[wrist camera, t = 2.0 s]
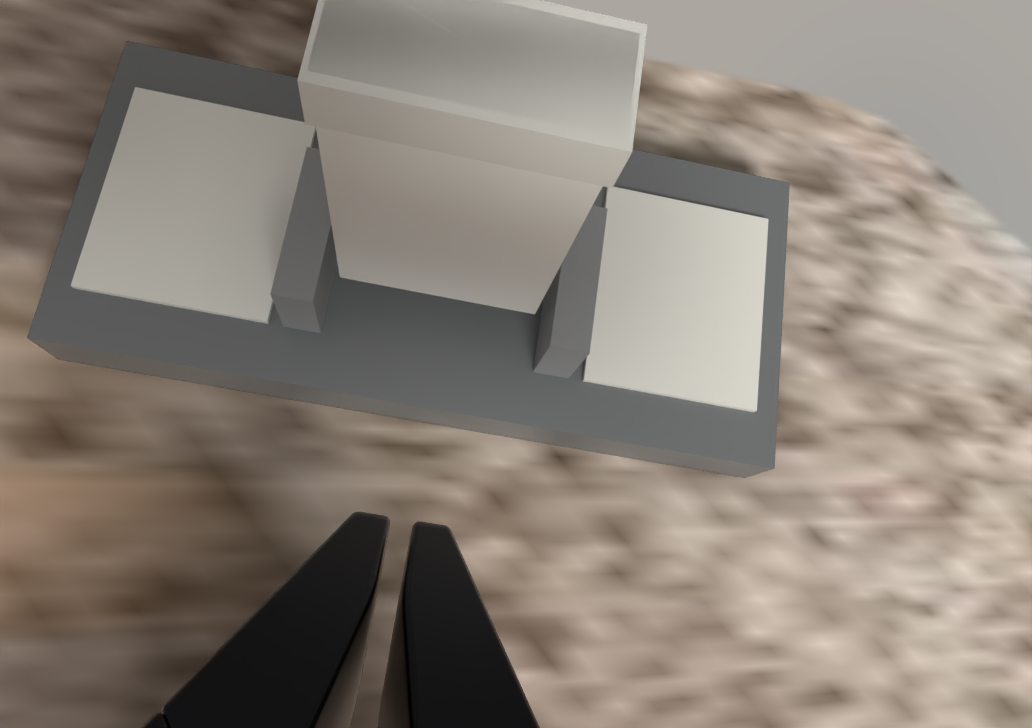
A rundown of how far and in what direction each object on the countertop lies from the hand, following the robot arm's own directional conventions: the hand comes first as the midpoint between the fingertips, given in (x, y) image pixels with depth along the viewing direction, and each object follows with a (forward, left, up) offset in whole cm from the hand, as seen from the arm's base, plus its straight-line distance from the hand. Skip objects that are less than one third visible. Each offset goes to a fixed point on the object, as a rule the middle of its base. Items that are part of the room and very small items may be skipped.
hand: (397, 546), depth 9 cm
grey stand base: (+5, -7, -14) cm, 16 cm away
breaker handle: (+4, -6, -10) cm, 13 cm away
